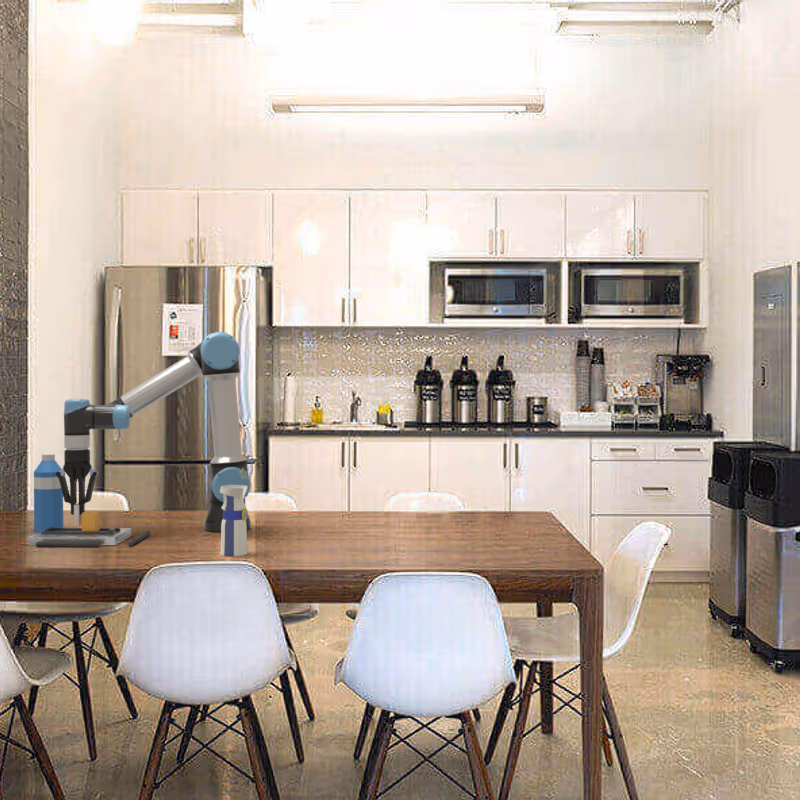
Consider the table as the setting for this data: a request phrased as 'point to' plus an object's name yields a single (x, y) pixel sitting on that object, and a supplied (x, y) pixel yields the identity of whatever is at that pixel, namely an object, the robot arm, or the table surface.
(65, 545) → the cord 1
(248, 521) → the robot arm
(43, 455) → the water bottle
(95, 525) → the matte orange cube
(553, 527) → the table surface
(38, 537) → the panel
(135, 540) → the rounded gray dowel
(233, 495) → the white tall piece
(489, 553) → the table surface
